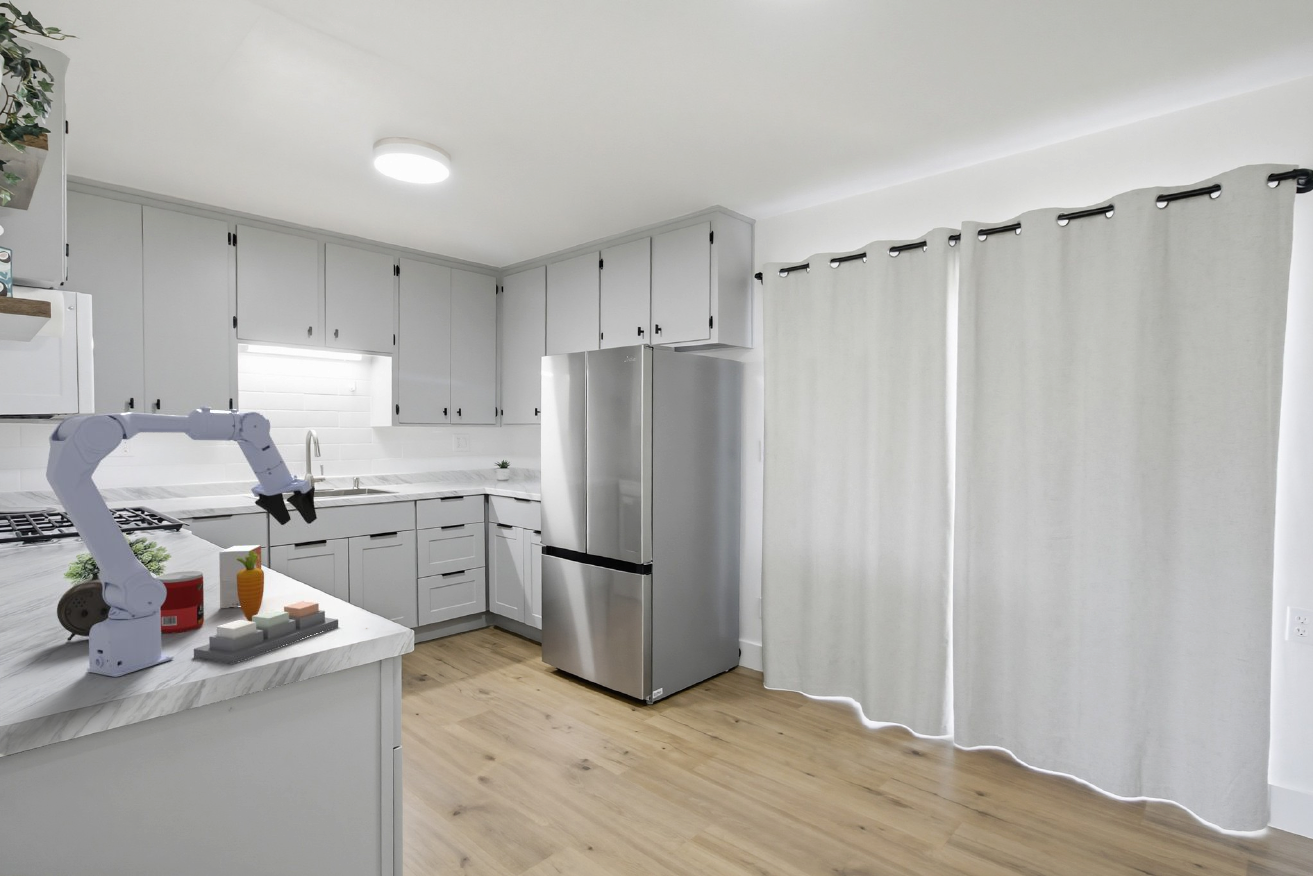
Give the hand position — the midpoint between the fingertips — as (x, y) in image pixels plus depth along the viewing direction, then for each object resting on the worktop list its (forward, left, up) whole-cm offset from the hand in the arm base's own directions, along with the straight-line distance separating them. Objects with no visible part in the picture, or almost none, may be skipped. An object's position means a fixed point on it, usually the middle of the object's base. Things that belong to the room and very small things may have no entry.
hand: (299, 521), depth 142 cm
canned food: (-12, +20, -21) cm, 31 cm away
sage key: (-12, -5, -18) cm, 22 cm away
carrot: (-4, +10, -21) cm, 24 cm away
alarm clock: (-23, +28, -21) cm, 42 cm away
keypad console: (-12, -5, -21) cm, 25 cm away
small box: (+6, +26, -22) cm, 34 cm away
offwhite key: (-19, -5, -18) cm, 26 cm away
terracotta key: (-5, -5, -18) cm, 19 cm away
